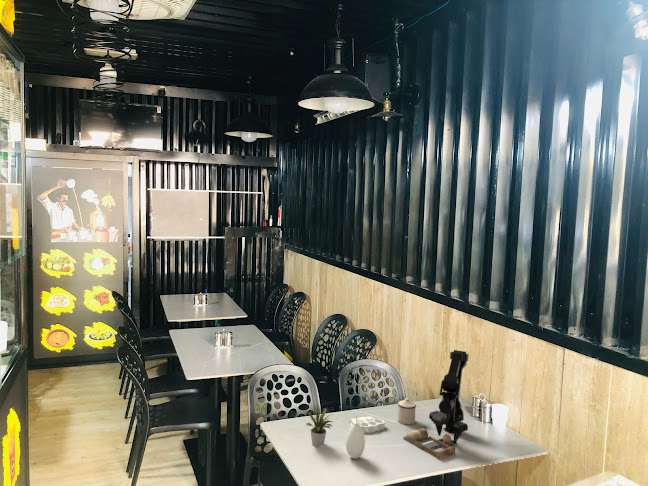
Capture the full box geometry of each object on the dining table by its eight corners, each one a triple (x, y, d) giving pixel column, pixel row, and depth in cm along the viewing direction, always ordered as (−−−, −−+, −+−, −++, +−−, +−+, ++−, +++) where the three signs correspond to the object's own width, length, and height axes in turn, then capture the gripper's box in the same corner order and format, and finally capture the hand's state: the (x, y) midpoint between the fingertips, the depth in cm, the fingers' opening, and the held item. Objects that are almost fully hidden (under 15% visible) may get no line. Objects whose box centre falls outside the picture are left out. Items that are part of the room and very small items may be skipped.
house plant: (305, 454, 219) (307, 416, 218) (295, 440, 232) (297, 405, 231) (336, 449, 225) (338, 413, 224) (324, 436, 238) (326, 402, 237)
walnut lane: (430, 440, 239) (430, 433, 238) (455, 453, 226) (455, 446, 226) (413, 445, 232) (413, 438, 232) (438, 459, 220) (438, 452, 220)
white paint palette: (374, 420, 260) (389, 432, 246) (342, 424, 253) (355, 436, 239) (375, 413, 260) (389, 425, 246) (342, 417, 253) (356, 429, 239)
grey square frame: (446, 438, 241) (446, 437, 241) (457, 444, 235) (457, 442, 235) (436, 441, 237) (436, 440, 237) (447, 447, 232) (447, 445, 232)
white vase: (352, 451, 224) (354, 411, 223) (367, 457, 219) (369, 416, 218) (341, 457, 218) (343, 416, 217) (356, 464, 213) (358, 421, 212)
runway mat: (418, 434, 244) (418, 432, 244) (440, 446, 233) (441, 443, 232) (403, 439, 238) (403, 436, 238) (425, 451, 227) (425, 448, 227)
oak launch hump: (420, 437, 243) (420, 426, 242) (427, 441, 238) (428, 430, 238) (406, 441, 237) (406, 430, 237) (413, 445, 233) (414, 434, 233)
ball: (446, 440, 239) (446, 432, 239) (453, 443, 236) (453, 435, 235) (440, 442, 237) (440, 433, 236) (447, 445, 233) (447, 437, 233)
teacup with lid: (418, 423, 257) (420, 400, 256) (403, 426, 253) (404, 402, 253) (405, 414, 268) (406, 392, 267) (390, 416, 264) (391, 394, 264)
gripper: (421, 402, 238) (419, 435, 239) (452, 416, 223) (450, 451, 224) (438, 398, 245) (436, 430, 246) (469, 412, 229) (467, 445, 230)
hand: (446, 439), depth 236 cm, fingers open, 9 cm apart
